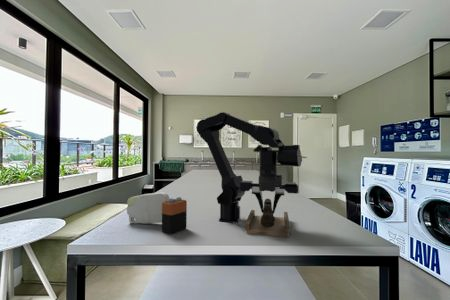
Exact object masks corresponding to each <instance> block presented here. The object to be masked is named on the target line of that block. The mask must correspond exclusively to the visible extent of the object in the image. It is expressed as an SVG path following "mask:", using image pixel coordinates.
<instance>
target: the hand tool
mask: <svg viewBox="0 0 450 300" xmlns="http://www.w3.org/2000/svg"><path fill="white" fill-rule="evenodd" d="M274 214H275V212H273V206H272V200H271V199H270V198H265V199H264V200H263V213H262V214H261V215H260V216H261V225H262V226H263V227H272V226H274V221H275V217H276V216H275V215H274Z"/></svg>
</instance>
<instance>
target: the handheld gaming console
mask: <svg viewBox="0 0 450 300" xmlns="http://www.w3.org/2000/svg"><path fill="white" fill-rule="evenodd" d="M167 199H170V196H169V194H168V193H167V192H164V191H162V192H152V193H144V194H141V195H136V196H135V195H134V196H131V197H129V198H128V199H127V202H126V203H127V207H126V214H127V216H128V221H129V224H130V223H134V224H144V225H145V224H146V225H147V224H158V223H159V224H160V223H162V202H165V201H167Z"/></svg>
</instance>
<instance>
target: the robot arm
mask: <svg viewBox="0 0 450 300" xmlns="http://www.w3.org/2000/svg"><path fill="white" fill-rule="evenodd" d="M226 126H229V127H230V128H233V129H236V130H238V131H240V132H242V133H245V134H247V135H249V136H250V137H251V138H252V139H254V141H256V142H258V143H259V144H257V146H256V147H255V148H254V149H253V152H255V153H256V152H257V153H259V175H258V182H257V183H255V182H253V180H243V177H242V175H237V174H236V173H235V172H234V171H233V168H232V166H231V163H230V161H229V159H228V157H227V154H226V152H225V150H224V147H223V146H222V143H221V140H220V131H221V130H222V129H223V128H225V127H226ZM195 128H196V132H197V133H198V134H199V136H200V138H201V139H202V140H203V141H204V142H205V143H206V144H207V146H208V149H209V151H210V153H211V155H212V158H213V161H214V163H215V165H216V168H217V170H218V173H219V175H220V177H221V190H222V192H220V194H219V195H217V197H216V200H217V204H218V205H219V207H220V208H219V209H220V210H219V212H220V215H219V217H220V218H219V219H218V222H228V223H238V221H239V220H240V218H241V206H240V202H241V200H242V197H244V196H245V193H246V192H249V191H250V190H251V194H252V195H255V197H256V200H257V202H258V204H259V208H260V211H261V213H262V214H263V209H264V200H263V192H264V191H266V192H274V196H273V197H274V198H273V206H272V211H273V212H274V213H275V212H276V209H277V205H278V202H279V201H280V198H281V197H282V196H285V195H286V194H285V193H287V194H299V185H298V184H297V183H296V181H295V182H293V181H292V182H290V181H285V182H284V184H283V181H282V179H283V177H282V176H283V175H282V174H280V175H279V174H278V164H280V166H281V167H295V168H298V167H301V165H302V159H303V157H302V156H303V155H302V152H301V148H300V147H301V146H300V144H292V145H291V144H290V145H285V144H284V143H283V141H282V140H281V139H280V135H279V132H278V131H277V130H276V129H275V128H271V127H267V126H263V125H259V124H257V125H256V124H253V123H251V122H248V121H245V120H243V119H241V118H238V117H236V116H233V115H231V114H230V113H227V112H223V111H221V112H219V113H218V114H215V115H212V116H209V117H206V118H205V119H204V118H203V119H200V120H199V121H198V122H197V125H196V127H195ZM263 145H264V146H263ZM273 149H274V150H273ZM275 149H276V150H275Z"/></svg>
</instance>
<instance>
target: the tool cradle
mask: <svg viewBox="0 0 450 300" xmlns="http://www.w3.org/2000/svg"><path fill="white" fill-rule="evenodd" d="M255 212H256V211H255V210H254V209H251V210H250V212H249V214H248V216H247V218H246V221H245V223H244V231H246V234H248V235H259V236H269V237H283V238H289V235H290V234H291V225H290V224H291V223H290V220H289V213H288V211H283V216H274V217H275V221H274V226H272V227H263V226H262V225H261V216H262V215H256V213H255Z"/></svg>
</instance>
